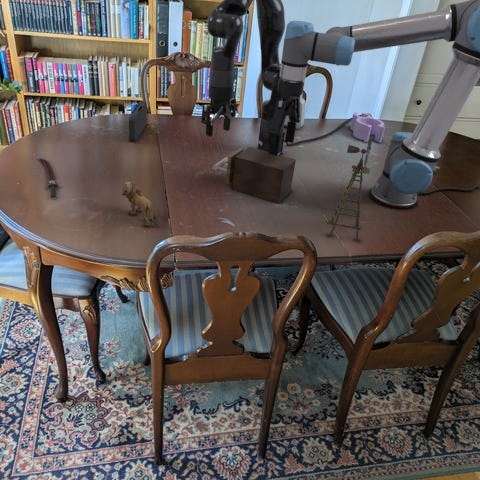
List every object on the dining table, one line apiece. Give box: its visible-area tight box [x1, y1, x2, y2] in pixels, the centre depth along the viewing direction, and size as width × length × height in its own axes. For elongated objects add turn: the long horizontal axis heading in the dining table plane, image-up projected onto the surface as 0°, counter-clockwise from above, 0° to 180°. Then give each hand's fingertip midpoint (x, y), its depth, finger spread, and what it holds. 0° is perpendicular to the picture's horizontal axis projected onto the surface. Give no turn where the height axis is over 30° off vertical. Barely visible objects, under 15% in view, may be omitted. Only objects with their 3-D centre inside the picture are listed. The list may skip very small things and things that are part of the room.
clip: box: [349, 112, 386, 143], centre depth 214 cm, size 20×12×7 cm, turn 11°
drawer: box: [212, 147, 245, 185], centre depth 157 cm, size 21×10×10 cm, turn 64°
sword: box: [40, 158, 59, 198], centre depth 151 cm, size 31×3×1 cm, turn 26°
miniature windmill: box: [329, 134, 373, 241], centre depth 132 cm, size 9×8×30 cm
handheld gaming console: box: [128, 100, 148, 142], centre depth 189 cm, size 23×3×10 cm, turn 178°
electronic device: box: [284, 62, 309, 130], centre depth 208 cm, size 12×8×30 cm, turn 71°
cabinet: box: [232, 146, 297, 204], centre depth 155 cm, size 17×11×12 cm, turn 64°
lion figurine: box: [119, 181, 159, 227], centre depth 134 cm, size 15×5×9 cm, turn 50°
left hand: (217, 132), depth 154 cm, fingers open, 8 cm apart
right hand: (281, 148), depth 148 cm, fingers open, 13 cm apart
